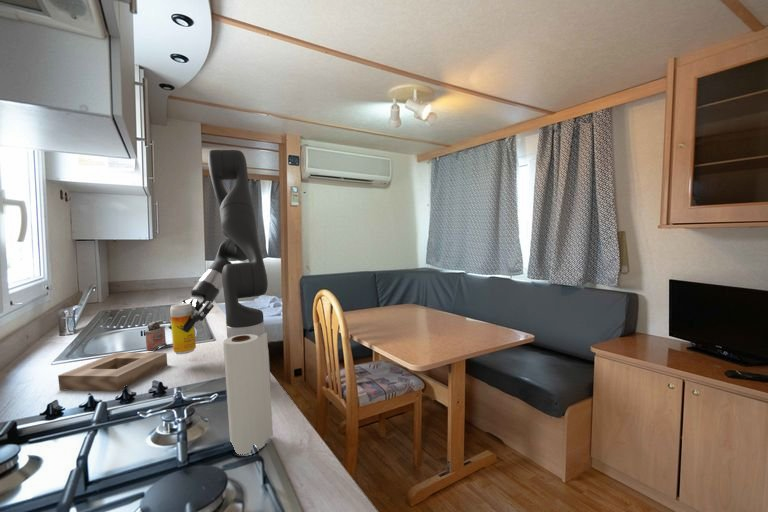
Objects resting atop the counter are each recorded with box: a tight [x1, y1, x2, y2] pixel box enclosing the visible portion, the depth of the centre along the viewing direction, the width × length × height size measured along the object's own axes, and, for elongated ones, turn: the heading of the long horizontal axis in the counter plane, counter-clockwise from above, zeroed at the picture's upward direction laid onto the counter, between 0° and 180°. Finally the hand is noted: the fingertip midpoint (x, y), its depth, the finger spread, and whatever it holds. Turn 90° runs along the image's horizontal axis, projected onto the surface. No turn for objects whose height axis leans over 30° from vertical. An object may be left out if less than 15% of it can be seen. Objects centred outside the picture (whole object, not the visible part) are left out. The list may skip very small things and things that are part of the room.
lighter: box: [144, 319, 167, 352], centre depth 129 cm, size 8×3×10 cm, turn 171°
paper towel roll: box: [222, 332, 274, 455], centre depth 66 cm, size 7×6×21 cm
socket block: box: [57, 352, 168, 392], centre depth 104 cm, size 18×18×4 cm
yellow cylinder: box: [169, 302, 197, 355], centre depth 109 cm, size 6×6×15 cm
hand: (178, 330), depth 107 cm, fingers closed on yellow cylinder, 6 cm apart
